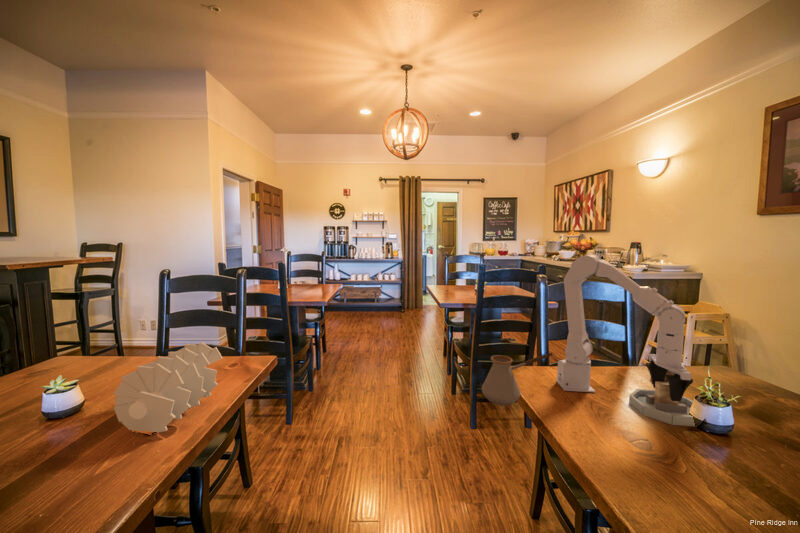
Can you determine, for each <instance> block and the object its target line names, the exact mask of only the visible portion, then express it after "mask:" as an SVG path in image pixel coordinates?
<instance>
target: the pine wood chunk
mask: <svg viewBox="0 0 800 533" xmlns="http://www.w3.org/2000/svg"><path fill="white" fill-rule="evenodd" d="M654 390H655V396H654V405H655V406H656V402H664V403H678V401H672V400H671V398H670V387H669V382H656V381H655V388H654Z"/></svg>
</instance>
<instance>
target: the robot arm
mask: <svg viewBox="0 0 800 533" xmlns="http://www.w3.org/2000/svg"><path fill="white" fill-rule="evenodd" d="M593 275H595V277H599V278H600V277H602V278H607V279H609V280H611V281H612V282H614V283H615V284H616V285H617V286H620V288H622V289H624V290H625V291H626V292H627V293H630V295H631V296H632V301H633V302H635V303H636V304H637V305H638V306H640V307H641V308H642V309H643V310H645V311H646V312H648V314H650V315H652V316H654V317H657V321H658V323H659V324H658V325H659V326H658V327H659V328H658V329H657V339H656V340H657V341H656V352H655V353H656V354H655V353H649V354H648V360H649V362H645V366H646V368H647V369H648V372H649V374H650V378H651V383H652V387H653V389H655V381H656V382H664V379H665V375H666V373H667V371H668V370H669V371H671V372H672V373H674V375H666V377H667V380H668V382H669V387H670V398H671V400H672V401H681V399H682V397H684V394H685V392H686V390H687V389H688V388H689V387H690V386H691V385H692V384H693V383H694V379H693V378H692V373H691V372H690V371H688V370H687V367H686V364H685V363H684V362H683V355H684V354H683V353H684V352H683V351H684V338H685V334H684V330H685V327H684V325H685V323H686V321H687V320H686V313H685V311H684V309H683V308H682V307H681V306H680V305H679V304H676V303H675V302H674V301H673V300H672V299H670V300H668V299H667V298H666V297H664V296H663V295H662V294H660V293H659V292H658V291H659V290H658V288H656V287H653V288H651V287H650V286H647V285H646V286H641V285H640V284H638V283H637V282H635V281H634V280H633V279H631V278H630V277H629V276H627V275H626V274H625V273H624V272H623V271H621V270H620V269H618V268H617V267H616V266H614V264H612V263H610V262H609V261H607V260H605V259H602V258H601V257H600V256H599V255H597V254H587V255H581V256H579V257H577V258H576V259H574V261H573V262H571V265H570V267H569V269H568V271H567V272H566V274H565V276H564V277H563V285H564V286H563V288H564V297H565V308H566V318H567V326H568V334H567V338H566V347H565V349H564V354H565V355H564V356H565V358H564V359H559V360H558V361H557V373H556V375H557V376H556V382H557V384H558V385H559V386H560V387H561V388H562V390H563V391H567V392H580V393H581V392H583V393H584V392H585V393H595V392H596V390H595V389H594V388H593V387H592V386H591V371H592V369H591V368H592V367H591V366H592V360H591V359H590V355H591V354H592V353H593V349H594V348H593V345H592V343H591V341H590V339H589V334H588V332H587V328H586V320H585V318H586V317H585V311H584V310H585V309H584V298H583V288H582V284H583V283H584V282H585V281H586V280H587V279H589V277H591V276H593ZM674 303H675V304H674Z"/></svg>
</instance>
